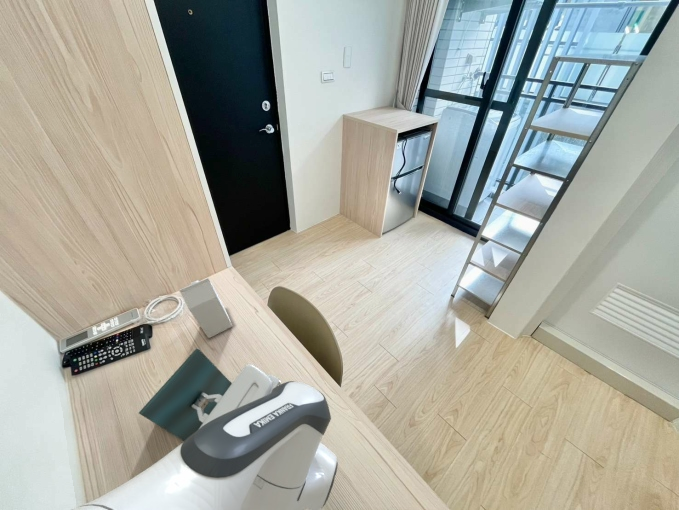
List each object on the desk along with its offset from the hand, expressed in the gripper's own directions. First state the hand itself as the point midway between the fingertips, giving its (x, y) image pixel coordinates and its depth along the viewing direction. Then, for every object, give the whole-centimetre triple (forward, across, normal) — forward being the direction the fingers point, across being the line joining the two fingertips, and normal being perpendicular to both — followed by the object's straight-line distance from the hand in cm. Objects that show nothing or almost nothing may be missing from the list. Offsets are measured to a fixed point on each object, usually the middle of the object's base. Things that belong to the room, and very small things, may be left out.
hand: (197, 400), depth 53 cm
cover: (+1, 0, 0) cm, 1 cm away
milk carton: (+19, -20, +14) cm, 31 cm away
